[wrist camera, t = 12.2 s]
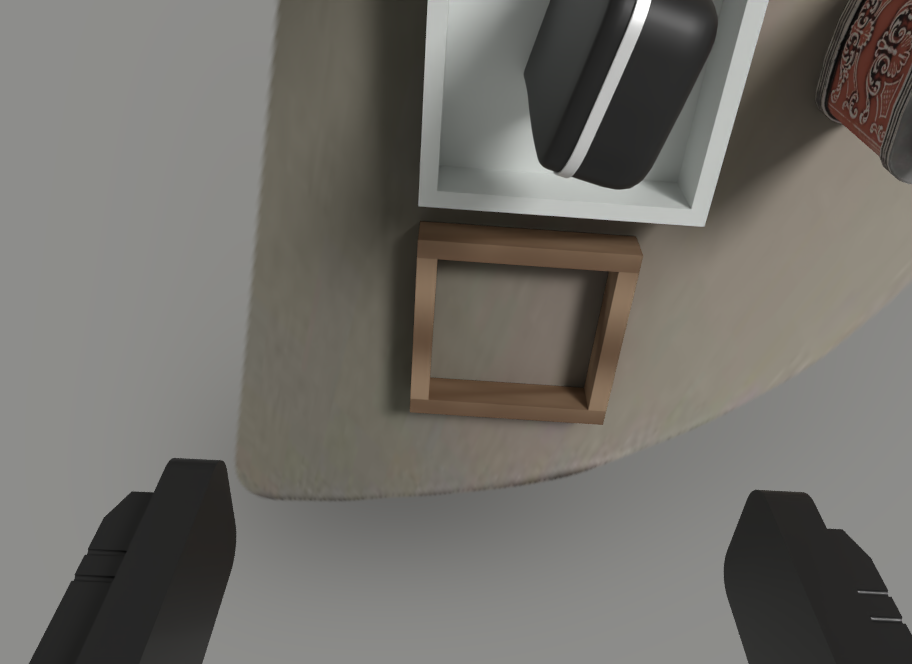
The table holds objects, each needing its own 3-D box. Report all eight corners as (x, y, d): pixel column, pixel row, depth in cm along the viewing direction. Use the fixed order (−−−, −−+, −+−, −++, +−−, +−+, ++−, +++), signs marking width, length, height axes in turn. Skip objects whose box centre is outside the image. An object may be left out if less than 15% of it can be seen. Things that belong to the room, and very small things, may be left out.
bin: (442, -232, 28) (438, -236, 25) (790, -202, 29) (826, -202, 26) (422, 174, 37) (418, 206, 35) (686, 194, 38) (704, 226, 35)
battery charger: (597, 107, 35) (643, 222, 25) (518, 80, 34) (535, 188, 25) (668, -56, 31) (754, 9, 22) (581, -89, 30) (630, -38, 21)
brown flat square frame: (420, 221, 39) (417, 239, 37) (635, 236, 39) (643, 255, 37) (412, 389, 45) (409, 412, 43) (598, 402, 45) (602, 424, 44)
